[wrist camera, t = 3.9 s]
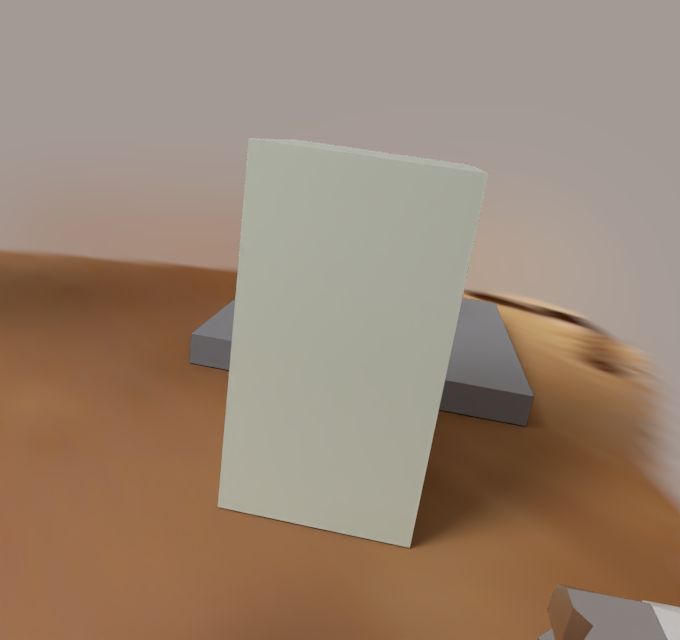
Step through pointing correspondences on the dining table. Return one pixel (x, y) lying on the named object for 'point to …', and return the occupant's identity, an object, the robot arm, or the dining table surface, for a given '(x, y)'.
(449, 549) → the dining table surface
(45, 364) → the dining table surface
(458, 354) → the board
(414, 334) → the cover
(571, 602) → the robot arm
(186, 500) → the dining table surface
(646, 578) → the dining table surface
